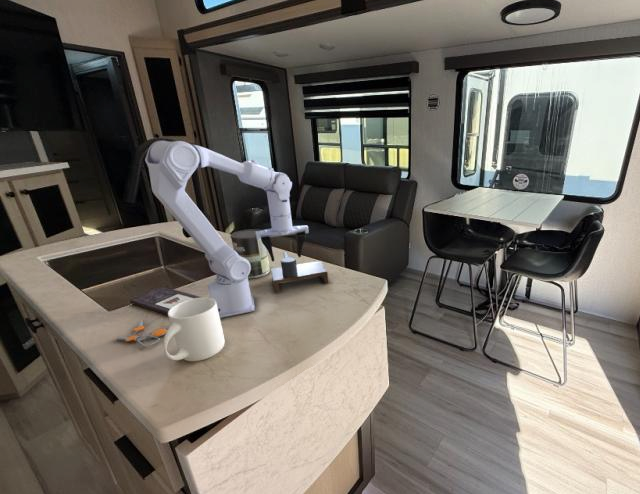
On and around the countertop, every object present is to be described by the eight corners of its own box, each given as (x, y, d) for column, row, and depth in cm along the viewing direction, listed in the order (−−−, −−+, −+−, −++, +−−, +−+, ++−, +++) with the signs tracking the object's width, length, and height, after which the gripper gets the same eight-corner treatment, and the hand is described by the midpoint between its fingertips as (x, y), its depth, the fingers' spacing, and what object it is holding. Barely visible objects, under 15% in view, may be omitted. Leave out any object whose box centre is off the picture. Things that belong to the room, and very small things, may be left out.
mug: (154, 369, 64) (139, 323, 60) (204, 335, 75) (194, 295, 71) (188, 377, 62) (174, 331, 58) (234, 341, 73) (225, 300, 69)
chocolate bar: (163, 286, 96) (203, 297, 90) (163, 289, 97) (204, 300, 90) (129, 299, 89) (171, 313, 82) (130, 302, 89) (172, 316, 82)
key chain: (176, 333, 75) (175, 330, 75) (141, 351, 69) (140, 348, 69) (144, 321, 80) (143, 318, 80) (109, 336, 74) (108, 333, 74)
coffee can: (249, 281, 102) (241, 240, 98) (231, 274, 108) (223, 234, 103) (276, 271, 110) (271, 232, 105) (259, 264, 116) (253, 227, 111)
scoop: (298, 276, 97) (296, 260, 95) (283, 278, 95) (281, 263, 93) (294, 265, 105) (292, 251, 103) (280, 267, 103) (278, 253, 101)
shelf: (275, 292, 95) (273, 280, 94) (272, 280, 104) (270, 268, 102) (328, 282, 102) (327, 271, 100) (321, 271, 110) (320, 260, 109)
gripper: (254, 220, 85) (261, 266, 90) (308, 214, 91) (313, 258, 96) (252, 214, 91) (259, 258, 96) (304, 209, 97) (308, 251, 102)
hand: (286, 258), depth 96 cm, fingers open, 7 cm apart
